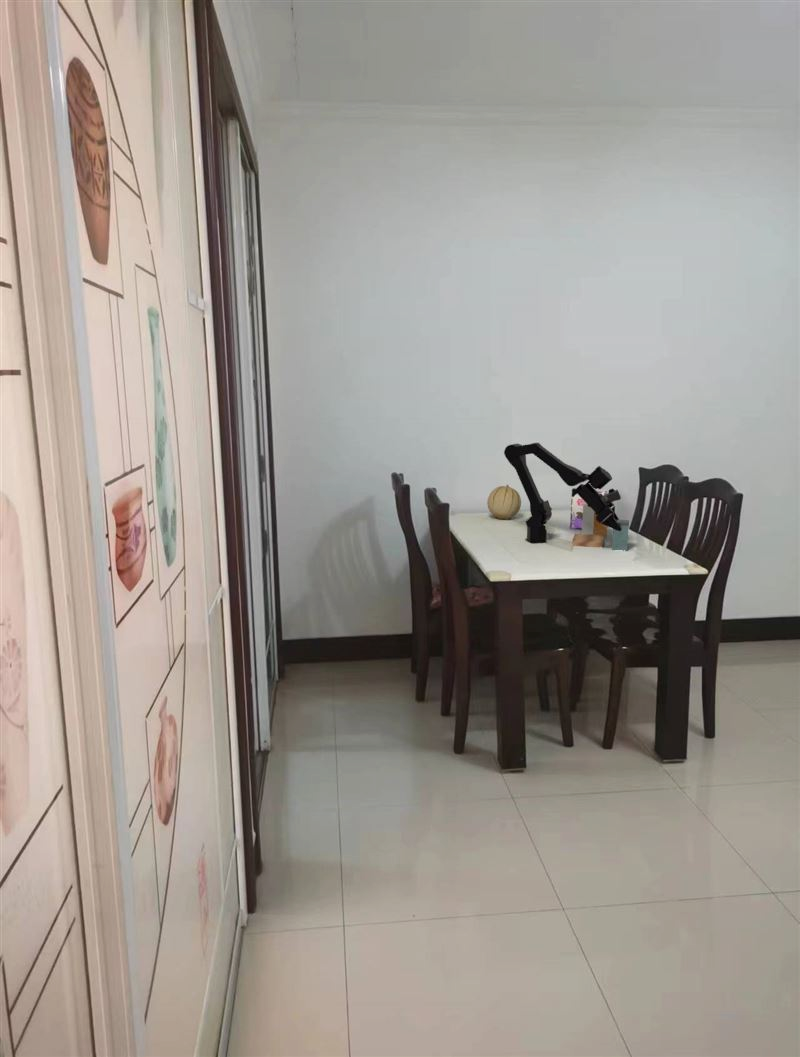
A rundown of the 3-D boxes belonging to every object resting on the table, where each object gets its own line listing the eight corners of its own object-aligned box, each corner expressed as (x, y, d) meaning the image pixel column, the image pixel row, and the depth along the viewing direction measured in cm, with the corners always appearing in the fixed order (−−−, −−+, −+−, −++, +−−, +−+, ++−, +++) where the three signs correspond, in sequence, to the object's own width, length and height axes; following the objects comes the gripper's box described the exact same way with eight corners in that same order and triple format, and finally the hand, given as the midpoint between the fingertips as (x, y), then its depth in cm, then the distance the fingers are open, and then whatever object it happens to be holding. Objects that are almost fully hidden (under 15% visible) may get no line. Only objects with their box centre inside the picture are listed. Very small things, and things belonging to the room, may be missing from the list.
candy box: (569, 528, 331) (571, 489, 327) (571, 526, 336) (573, 487, 333) (603, 531, 326) (605, 491, 322) (605, 528, 331) (607, 489, 328)
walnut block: (572, 546, 299) (572, 539, 298) (574, 541, 309) (575, 533, 308) (602, 548, 295) (602, 541, 295) (603, 542, 306) (604, 535, 305)
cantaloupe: (485, 520, 347) (486, 486, 344) (488, 515, 361) (489, 482, 358) (519, 522, 344) (520, 488, 341) (521, 516, 358) (522, 483, 355)
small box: (593, 538, 312) (594, 505, 309) (581, 535, 317) (582, 503, 314) (607, 536, 316) (609, 503, 314) (595, 533, 321) (597, 501, 319)
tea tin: (611, 550, 291) (612, 522, 289) (611, 547, 297) (613, 519, 295) (627, 551, 290) (629, 523, 288) (627, 548, 295) (629, 520, 293)
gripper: (607, 485, 281) (637, 518, 280) (609, 479, 299) (638, 509, 298) (583, 506, 285) (613, 538, 284) (586, 499, 302) (615, 529, 301)
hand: (621, 528), depth 291 cm, fingers open, 9 cm apart
